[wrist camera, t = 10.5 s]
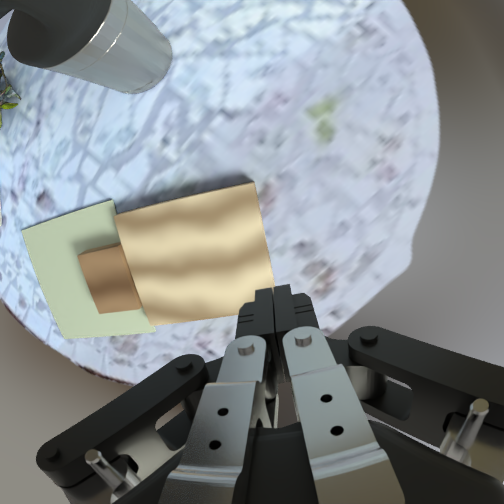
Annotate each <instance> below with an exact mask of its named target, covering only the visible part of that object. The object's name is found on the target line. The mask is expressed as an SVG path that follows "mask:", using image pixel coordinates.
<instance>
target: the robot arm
mask: <svg viewBox="0 0 504 504" xmlns="http://www.w3.org/2000/svg"><path fill="white" fill-rule="evenodd" d="M12 9H15V10H14V12H13V14H12V17H11V19H10V23H9V26H8V32H7V44H8V49H9V51H10V53H11V55H12V56H13V57H14V58H15V59H16V60H17V61H19V62H21V63H23V64H26V65H30V66H34V67H38V68H42V69H46V70H50V71H54V72H58V73H62V74H65V75H69V76H72V77H76V78H79V79H82V80H86V81H89V82H92V83H95V84H98V85H101V86H104V87H107V88H110V89H113V90H116V91H119V92H122V93H127V94H137V93H141V92H145V91H147V90H149V89H151V88H152V87H154V86H155V85H157V84H158V83H159V82H160V81H161V80H162V79H163V77H164V76H165V75H166V73H167V72H168V69H169V67H170V65H171V61H172V48H171V45H170V43H169V41H168V39H167V38H166V37H165V36H164V35H163V34H162V33H161V32H160V31H159V30H158V28H157V27H156V25H155V24H154V23H153V22H152V21H151V20H150V19H149V18H148V17H147V16H146V15H145V14H144V13H143V12H142V11H141V10H140V9H139V8H138V7H137V6H136V5H135V4H134V3H133V2H132V1H131V0H0V19H1V18H2V17H3V16H5V15H6V14H7V13H8V12H9V11H11V10H12ZM273 292H274V294H273ZM283 369H284V372H283ZM284 374H285V379H286V382H290V384H291V389H292V395H293V400H294V405H295V409H296V414H297V419H298V422H297V423H294V424H292V425H289V426H286V427H283V428H277V416H278V400H279V399H278V394H277V392H278V383H284ZM387 377H391V378H393V379H395V380H398V381H400V382H402V383H405V384H407V385H408V386H409V387H410V388H411V389H412V390H410V389H408V388H406V387H403V386H401V385H399V384H396V383H394V382H392V381H389V380H387ZM178 403H181V405H182V407H183V409H184V410H183V411H182V412H181V413H179V414H178V415H177V416H175V417H174V418H173V419H171V420H170V421H169V422H167V423H166V424H165V425H164V426H162V427H161V428H160V429H158V430H157V431H156V429H155V424H156V421H157V420H158V419H159V418H160V417H161V416H163V415H164V414H165V413H167V412H168V411H169V410H171V409H172V408H173V407H175V406H176V405H177V404H178ZM364 412H365V413H367V414H369V415H371V416H373V417H375V418H377V419H379V420H381V421H383V422H385V423H387V424H389V425H391V426H393V427H395V428H397V429H399V430H401V431H403V432H405V433H407V434H409V435H412V436H413V437H416V438H418V439H420V440H422V441H424V442H427V443H429V444H431V445H433V446H436V447H438V448H440V452H437V451H435V450H433V449H431V448H429V447H427V446H425V445H423V444H421V443H419V442H418V441H415V440H413V439H412V438H410V437H407V436H406V435H404V434H402V433H400V432H398V431H397V430H395V429H393V428H391V427H389V426H387V425H385V424H382V423H379V422H376V421H372V420H367V418H366V415H365V413H364ZM36 462H37V465H38V466H39V468H40V469H41V470H42V471H43V472H44V473H45V474H46V475H47V476H48V477H49V478H51V479H52V480H53V482H54V483H55V484H56V485H57V486H58V487H59V488H60V489H61V490H62V491H63V492H64V493H65V495H66V497H67V498H68V500H69V502H70V504H504V485H503V484H502V483H503V481H504V367H501V366H498V365H494V364H491V363H487V362H485V361H481V360H478V359H475V358H471V357H468V356H465V355H462V354H459V353H456V352H453V351H450V350H446V349H443V348H440V347H437V346H434V345H431V344H428V343H425V342H422V341H419V340H416V339H413V338H410V337H407V336H404V335H401V334H398V333H395V332H392V331H389V330H386V329H383V328H380V327H376V326H366V327H361V328H359V329H356V330H355V331H353V332H352V333H351V334H350V335H349V337H348V340H336V339H331V338H328V337H326V336H324V334H323V332H322V331H321V330H320V329H319V325H318V322H317V318H316V315H315V312H314V308H313V305H312V301H311V298H310V297H309V296H308V295H306V294H305V293H300V294H294V295H292V294H291V288H290V284H287V285H281V286H275V287H273V289H272V287H270V288H264V289H258V290H255V301H254V302H247V303H244V305H243V306H242V307H241V308H240V309H239V315H238V323H237V329H236V336H235V340H233V341H232V342H231V343H230V344H229V345H228V346H227V348H226V351H225V354H224V356H223V357H221V358H219V359H216V360H213V361H210V362H207V363H205V361H204V359H203V358H202V357H201V356H199V355H196V354H187V355H182V356H179V357H177V358H175V359H173V360H172V361H171V362H169V363H168V364H166V365H165V366H163V367H162V368H160V369H159V370H157V371H156V372H155V373H153V374H152V375H150V376H149V377H147V378H146V379H144V380H143V381H141V382H140V383H138V384H137V385H135V386H134V387H132V388H131V389H129V390H128V391H126V392H125V393H123V394H122V395H120V396H119V397H117V398H116V399H114V400H113V401H111V402H110V403H108V404H107V405H105V406H103V407H102V408H100V409H99V410H98V411H96V412H94V413H93V414H91V415H89V416H88V417H86V418H85V419H83V420H82V421H80V422H78V423H77V424H75V425H74V426H72V427H70V428H69V429H67V430H66V431H64V432H62V433H61V434H59V435H57V436H56V437H54V438H53V439H51V440H50V441H48V442H46V443H45V444H44V445H42V447H40V449H39V450H38V452H37V456H36Z"/></svg>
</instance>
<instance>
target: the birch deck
mask: <svg viewBox="0 0 504 504" xmlns="http://www.w3.org/2000/svg"><path fill="white" fill-rule="evenodd" d="M114 220H115V224H116V227H117V230H118V234H119V237H120V240H121V244H122V247H123V250H124V253H125V256H126V260H127V263H128V266H129V269H130V272H131V275H132V277H133V280H134V283H135V286H136V289H137V292H138V294H139V297H140V300H141V303H142V305H143V308H144V311H145V313H146V316H147V318H148V321H149V323H150V326H155V325H164V324H173V323H181V322H189V321H197V320H204V319H211V318H218V317H225V316H232V315H239V309H240V308H241V307H242V306H243V305H244V303H247V302H254V301H255V290H258V289H264V288H270V287H272V289H273V287H275V283H274V278H273V272H272V267H271V262H270V257H269V252H268V247H267V242H266V237H265V232H264V227H263V222H262V217H261V212H260V207H259V202H258V197H257V192H256V187H255V182H249V183H244V184H239V185H234V186H229V187H225V188H220V189H215V190H211V191H206V192H202V193H197V194H193V195H189V196H184V197H180V198H176V199H172V200H168V201H164V202H160V203H156V204H152V205H148V206H144V207H140V208H137V209H133V210H129V211H125V212H122V213H119V214H117V215H115V216H114ZM273 294H274V292H273Z"/></svg>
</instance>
